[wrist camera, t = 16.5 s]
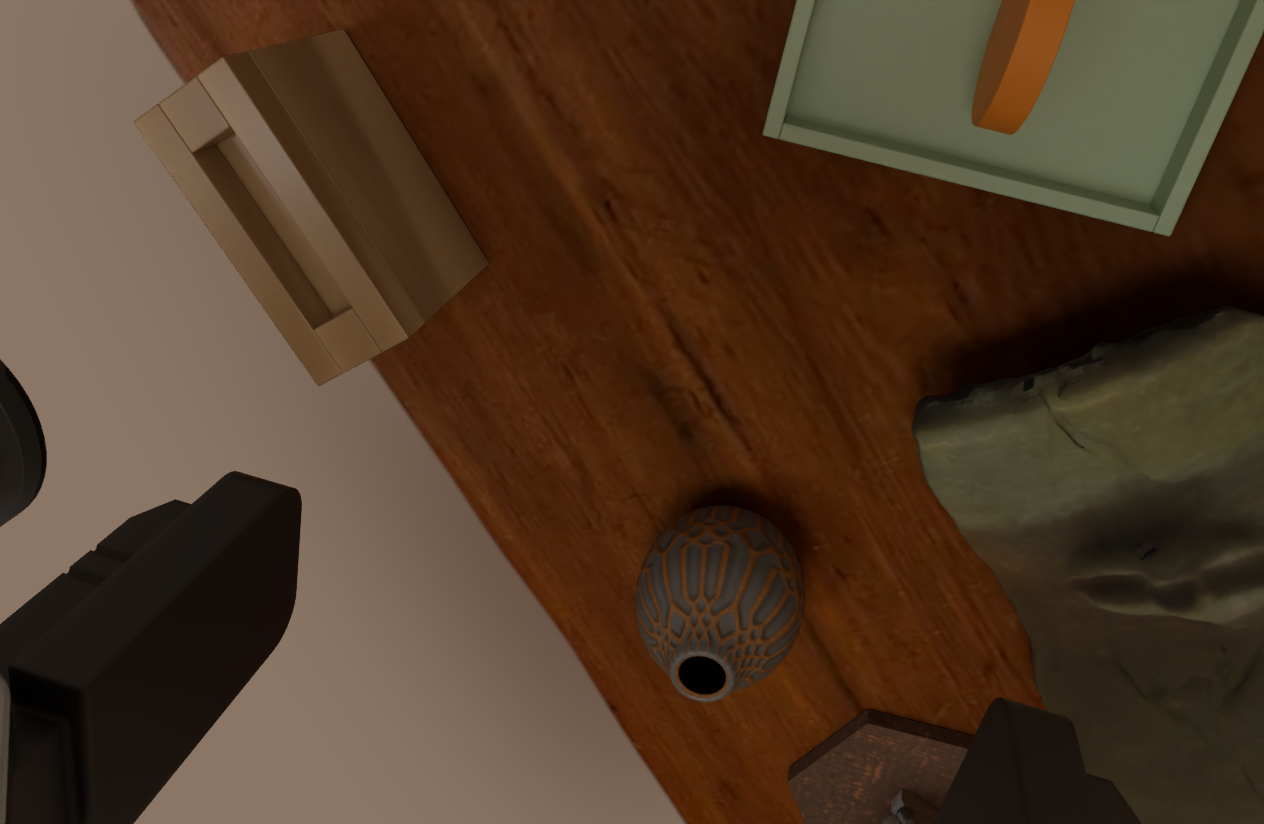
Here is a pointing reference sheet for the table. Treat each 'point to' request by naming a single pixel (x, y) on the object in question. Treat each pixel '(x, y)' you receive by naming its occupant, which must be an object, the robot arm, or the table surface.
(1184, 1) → the tray
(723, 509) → the vase
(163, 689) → the robot arm
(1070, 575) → the stone head
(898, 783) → the robot figurine
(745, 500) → the table surface
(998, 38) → the token
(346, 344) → the holder
